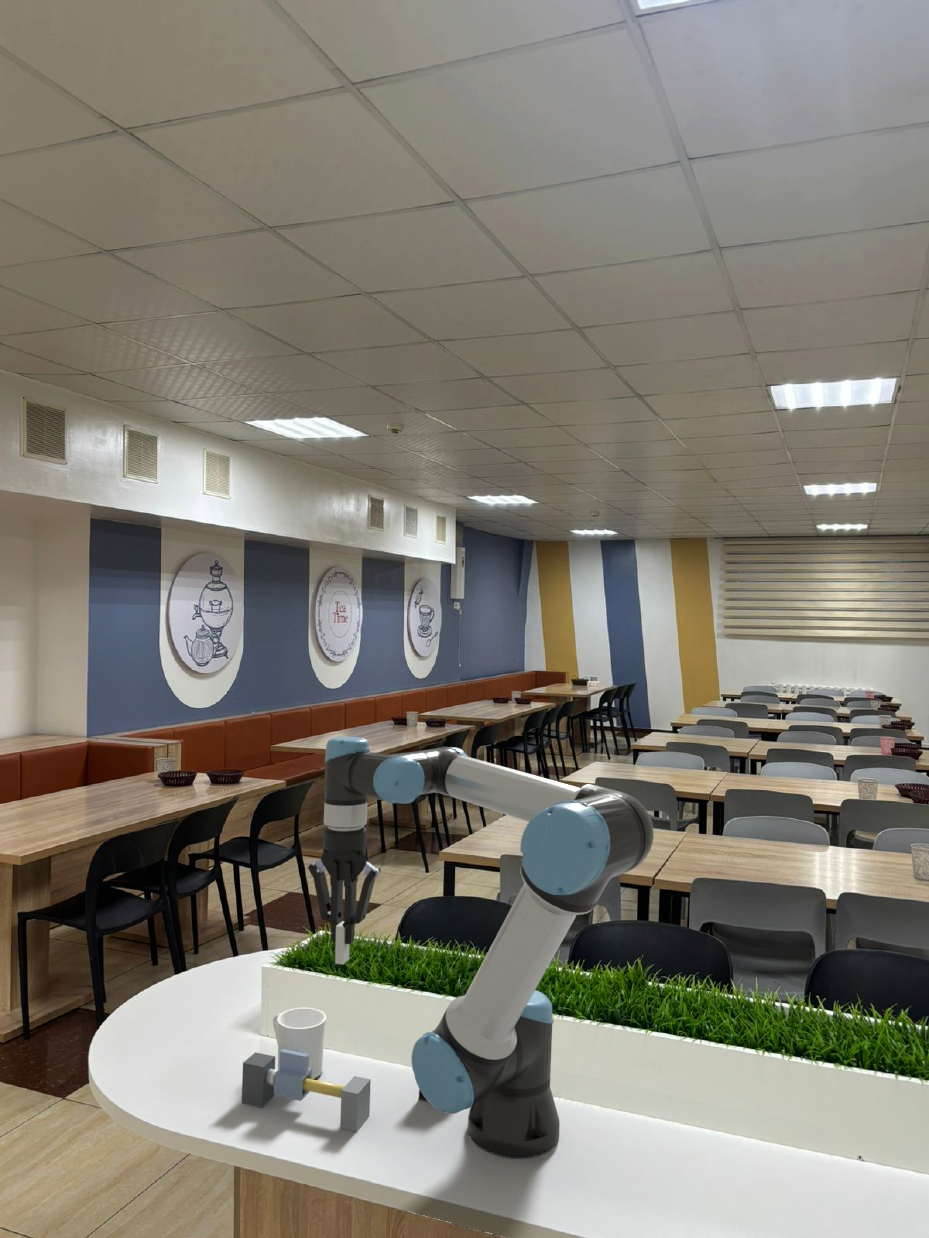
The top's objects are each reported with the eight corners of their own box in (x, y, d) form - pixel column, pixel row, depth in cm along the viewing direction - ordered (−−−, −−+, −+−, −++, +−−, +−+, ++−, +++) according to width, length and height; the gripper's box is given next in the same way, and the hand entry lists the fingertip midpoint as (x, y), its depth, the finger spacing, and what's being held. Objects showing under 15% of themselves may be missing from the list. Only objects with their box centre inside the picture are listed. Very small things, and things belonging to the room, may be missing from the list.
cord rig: (369, 1115, 151) (370, 1074, 151) (356, 1131, 146) (358, 1088, 146) (255, 1090, 158) (256, 1050, 158) (239, 1104, 153) (241, 1063, 153)
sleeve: (311, 1089, 154) (312, 1050, 154) (300, 1100, 150) (302, 1060, 150) (285, 1084, 155) (287, 1045, 155) (274, 1094, 152) (275, 1054, 152)
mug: (334, 1069, 166) (335, 1014, 166) (304, 1091, 158) (306, 1033, 158) (287, 1054, 171) (289, 1001, 171) (256, 1074, 163) (258, 1018, 163)
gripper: (387, 824, 158) (384, 958, 158) (319, 818, 162) (316, 949, 161) (372, 833, 151) (369, 973, 151) (301, 827, 154) (298, 964, 154)
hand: (342, 961), depth 156 cm, fingers closed
